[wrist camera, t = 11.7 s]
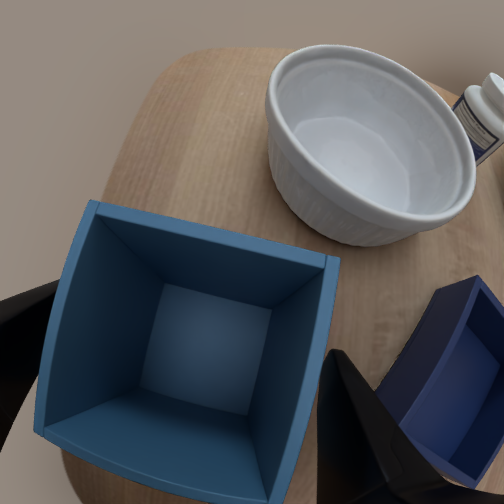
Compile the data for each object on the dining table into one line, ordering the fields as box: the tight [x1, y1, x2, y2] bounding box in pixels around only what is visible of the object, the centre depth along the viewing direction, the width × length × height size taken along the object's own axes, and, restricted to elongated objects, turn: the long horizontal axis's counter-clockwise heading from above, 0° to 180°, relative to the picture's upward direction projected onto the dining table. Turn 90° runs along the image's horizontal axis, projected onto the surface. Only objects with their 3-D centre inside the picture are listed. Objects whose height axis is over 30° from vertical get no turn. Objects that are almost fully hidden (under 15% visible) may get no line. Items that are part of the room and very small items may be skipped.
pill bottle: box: [451, 73, 504, 167], centre depth 17 cm, size 5×5×10 cm
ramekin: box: [265, 45, 476, 247], centre depth 16 cm, size 13×13×7 cm
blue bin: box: [33, 200, 341, 504], centre depth 11 cm, size 7×7×10 cm
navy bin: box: [374, 275, 504, 489], centre depth 13 cm, size 10×10×4 cm
